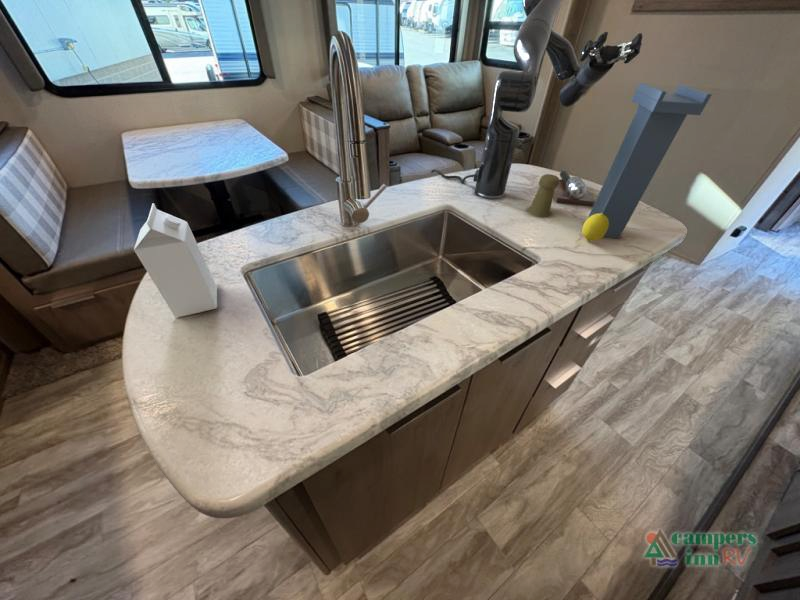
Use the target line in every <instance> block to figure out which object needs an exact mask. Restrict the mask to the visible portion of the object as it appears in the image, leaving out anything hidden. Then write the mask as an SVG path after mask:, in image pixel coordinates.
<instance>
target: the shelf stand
mask: <svg viewBox="0 0 800 600" xmlns="http://www.w3.org/2000/svg"><path fill="white" fill-rule="evenodd" d="M711 98H712V93H709V92H706V91H703V90H699V89H696V88H693V87H690V86H687V85H683V84H678V85H677V87H676V89H675V91H674V92H667V91H666V90H663V89H660V88H658V87H655V86H652V85H650V84H647V83H645V82H639V83H638V85H637V87H636V89H635V91H634V94H633V96H632V99H631V102H632V103H634V104H636V105H638V107H637V109H636V111H635V113H634V115H633V118H632V120H631V123H630V125H629V127H628V129H627V131H626V134H625V135H624V137H623V140H622V142H621V144H620V146H619V149H618V151H617V154H616V155H615V158H614V160H613V161H612V164H611V166H610V168H609V171H608V173H607V174H606V177H605V180H604V182H603V184H602V186H601V188H600V191H599V192H598V194H597V197H596V199H595V200H594V203H593V205H592V208H591V210H590V213H589V214H588V217H587V219H588V218H589V217H590V216H592V215H594V214H600V213H603V214H604V215H605V216H606V217H607V218H608V220H609V226H608V230H607V232H606V233H605V235H604V236H603V237H602V238H610V239H611V238H612V239H620V237H621V236H622V234H623V232H624V230H625V228H626V226H627V225H628V223H629V221H630V219H631V218H632V215H633V213H634V212H635V211H636V208H637V206H638V205H639V203H640V201H641V199H642V198H643V196H644V194H645V192H646V190H647V188H648V187H649V186H650V183H651V181H652V179H653V177H654V176H655V174H656V172H657V170H658V169H659V167H660V165H661V163H662V161H663V159H664V157H665V156H666V155H667V152H668V150H669V148H670V147H671V145H672V143H673V141H674V139H675V138H676V136H677V134H678V132H679V131H680V128H681V126H682V125H683V123H684V121H685V119H686V118H687V116H689V115H690V116H701V114H702V113H703V111H704V110H705V107H706V105H707V104H708V102H709V100H710V99H711Z"/></svg>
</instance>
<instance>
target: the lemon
mask: <svg viewBox="0 0 800 600" xmlns="http://www.w3.org/2000/svg"><path fill="white" fill-rule="evenodd" d="M588 217H589V216H588ZM588 217H587V219H586V220H585V221H584V223H583V225H582V228H581V234H582V236H583V238H584V239H586V241H587V242H595V241H599V240H601V239H602V238H604V237H603V236H604V235H605V233H606V232H607V230H608V226H609V220H608V218H607V217H606V216H605V215H604V214H603V213H600V214H594V215H592V216H590V217H589V218H588Z"/></svg>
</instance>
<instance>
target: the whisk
mask: <svg viewBox="0 0 800 600" xmlns="http://www.w3.org/2000/svg"><path fill="white" fill-rule="evenodd" d="M559 177H560V178H561V180H563V182H564V183H565V185H566V190H567V191H568V193H569V195H570V196H571V197H572V198H573V199H581V198H583V197H584V196H585V195H586V193H587V191H588V186H587V184H586V183H585V182H584V180H583V178H581V177H580V176H572V177H571V176H570V174H569V173H568V171H567V170H562V171H560V172H559Z"/></svg>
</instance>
